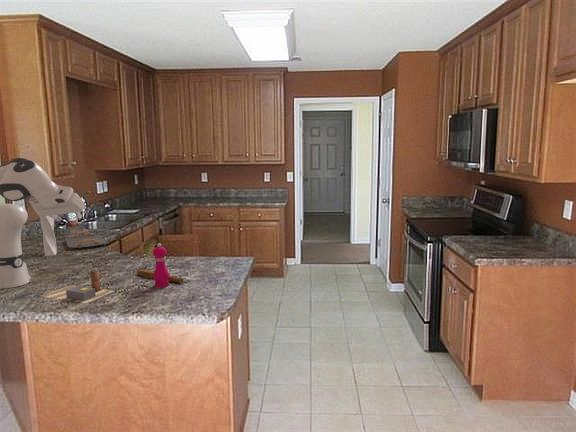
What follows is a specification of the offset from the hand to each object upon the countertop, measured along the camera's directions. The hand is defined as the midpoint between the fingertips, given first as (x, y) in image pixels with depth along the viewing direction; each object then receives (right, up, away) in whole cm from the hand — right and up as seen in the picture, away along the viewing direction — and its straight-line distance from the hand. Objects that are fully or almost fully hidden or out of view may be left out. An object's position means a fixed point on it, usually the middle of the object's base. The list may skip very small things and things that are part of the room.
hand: (69, 219), depth 180 cm
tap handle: (+26, -30, +35) cm, 53 cm away
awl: (+4, -32, +15) cm, 36 cm away
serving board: (-46, -18, +115) cm, 126 cm away
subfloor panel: (-2, -34, +12) cm, 36 cm away
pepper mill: (+31, -31, +25) cm, 50 cm away
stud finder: (+1, -33, +8) cm, 34 cm away
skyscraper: (-54, -23, +87) cm, 105 cm away
